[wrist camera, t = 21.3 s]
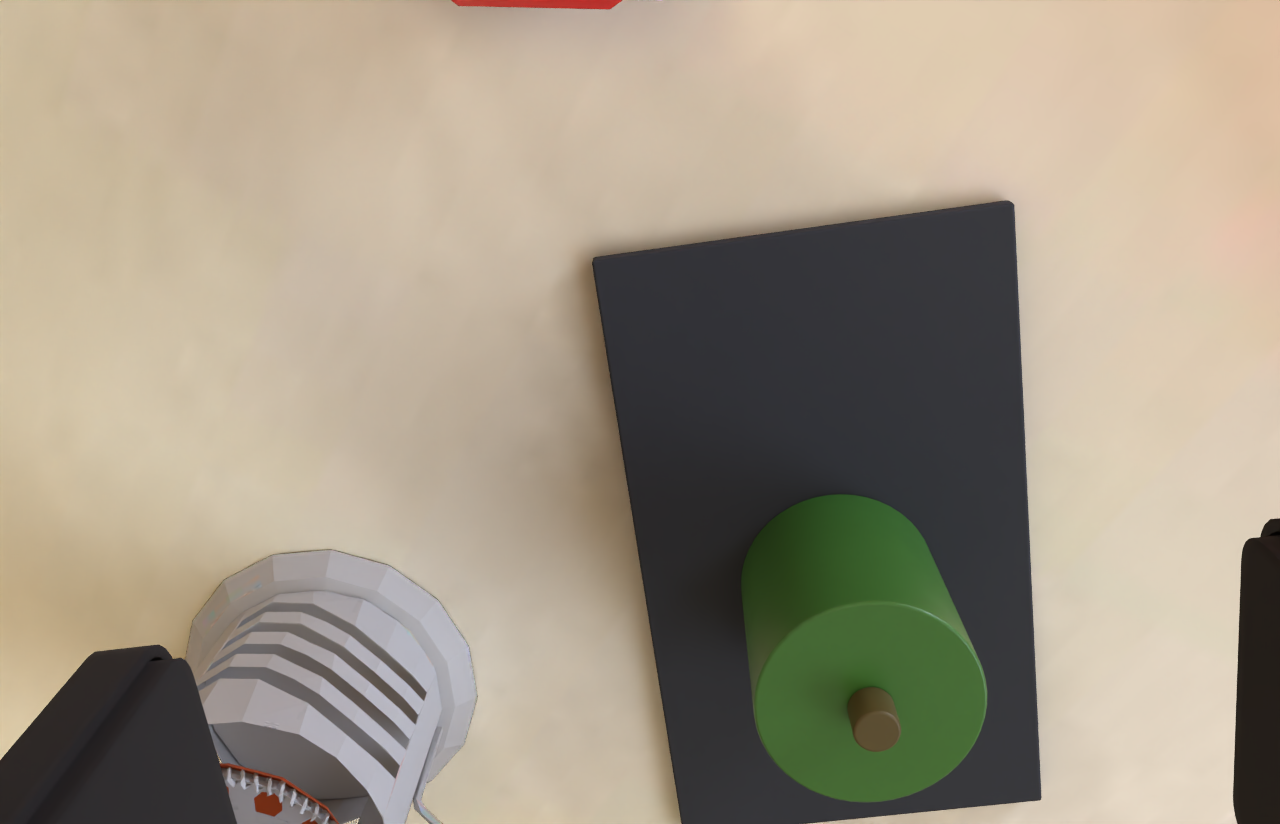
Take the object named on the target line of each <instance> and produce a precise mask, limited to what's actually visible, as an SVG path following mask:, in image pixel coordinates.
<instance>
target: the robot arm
mask: <svg viewBox="0 0 1280 824" xmlns="http://www.w3.org/2000/svg"><path fill="white" fill-rule="evenodd" d="M1233 803H1234V811H1235V816H1236V820H1237V823H1238V824H1280V518H1279V519H1270V520H1269V521H1268V522H1267V523H1266V524H1265V525H1264V528H1263V530H1262V533H1261V537H1259V538H1250V539H1248V540H1247V541H1246V542H1245V545H1244V547H1243V551H1242V559H1241V587H1240V616H1239V644H1238V673H1237V701H1236V730H1235V758H1234V787H1233ZM0 824H237V821H236V818H235V814H234V811H233V808H232V804H231V801H230V797H229V794H228V791H227V787H226V784H225V780H224V777H223V773H222V770H221V767H220V763H219V760H218V756H217V753H216V750H215V746H214V743H213V739H212V736H211V733H210V729H209V726H208V722H207V719H206V716H205V712H204V709H203V705H202V702H201V699H200V695H199V692H198V688H197V685H196V681H195V678H194V675H193V672H192V670H191V667H190V666H189V664H188V663H187V661H186V660H184V659H182V658H176V659H172V656H171V655H170V654H169V652H168V651H167V650H166V648H164V647H162V646H160V645H151V646H142V647H133V648H124V649H115V650H106V651H98V652H94V653H93V654H91V655H90V656H89V657H88V658H87V659H86V660H85V661H84V662H83V663H82V665H81V666H80V667H79V668H78V669H77V671H76V672H75V673H74V674H73V675H72V676H71V678H70V679H69V680H68V681H67V682H66V683H65V685H64V686H63V687H62V688H61V689H60V691H59V692H58V693H57V694H56V695H55V696H54V698H53V699H52V700H51V701H50V702H49V704H48V705H47V706H46V707H45V708H44V709H43V711H42V712H41V713H40V714H39V715H38V716H37V718H36V719H35V720H34V721H33V722H32V724H31V725H30V726H29V727H28V728H27V729H26V731H25V732H24V733H23V734H22V735H21V736H20V738H19V739H18V740H17V741H16V742H15V744H14V745H13V746H12V747H11V748H10V749H9V751H8V752H7V753H6V754H5V755H4V757H3V758H2V759H1V760H0Z"/></svg>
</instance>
